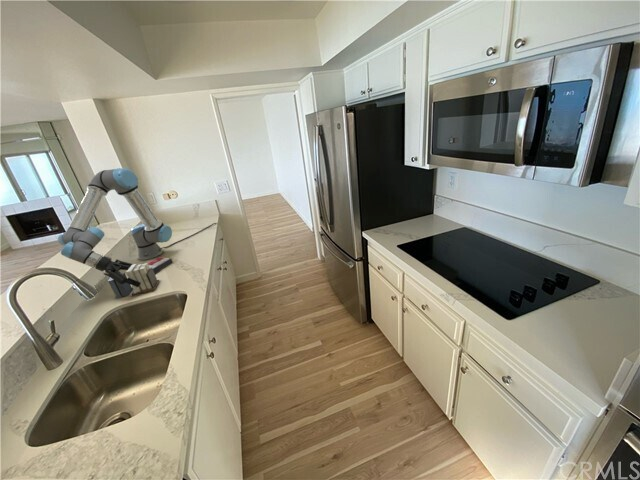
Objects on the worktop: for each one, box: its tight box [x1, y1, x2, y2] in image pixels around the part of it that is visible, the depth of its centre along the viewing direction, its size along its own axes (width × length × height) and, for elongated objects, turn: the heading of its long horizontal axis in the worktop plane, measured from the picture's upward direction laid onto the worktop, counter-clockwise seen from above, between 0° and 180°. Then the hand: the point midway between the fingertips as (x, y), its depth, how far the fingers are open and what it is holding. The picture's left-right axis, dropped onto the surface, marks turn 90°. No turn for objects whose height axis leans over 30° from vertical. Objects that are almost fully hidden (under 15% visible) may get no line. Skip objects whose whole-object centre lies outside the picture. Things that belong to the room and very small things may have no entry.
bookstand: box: [131, 262, 160, 297], centre depth 147 cm, size 11×11×14 cm
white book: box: [125, 263, 141, 292], centre depth 146 cm, size 9×2×13 cm, turn 16°
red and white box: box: [147, 257, 173, 275], centre depth 172 cm, size 11×4×15 cm
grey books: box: [107, 272, 133, 299], centre depth 145 cm, size 7×5×11 cm
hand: (143, 279), depth 147 cm, fingers open, 11 cm apart
